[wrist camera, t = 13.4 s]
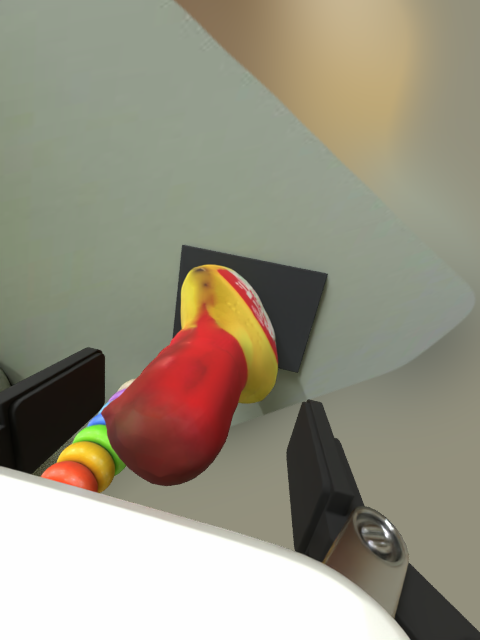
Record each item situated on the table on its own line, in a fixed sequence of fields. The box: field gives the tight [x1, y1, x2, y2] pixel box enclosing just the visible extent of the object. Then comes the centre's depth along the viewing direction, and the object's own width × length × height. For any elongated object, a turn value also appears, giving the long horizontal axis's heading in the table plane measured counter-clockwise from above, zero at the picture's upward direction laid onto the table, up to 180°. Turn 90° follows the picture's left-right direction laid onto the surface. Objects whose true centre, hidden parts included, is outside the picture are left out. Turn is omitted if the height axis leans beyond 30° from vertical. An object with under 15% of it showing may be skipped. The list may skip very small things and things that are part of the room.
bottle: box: [101, 265, 278, 486], centre depth 16 cm, size 12×6×20 cm, turn 21°
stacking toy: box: [41, 379, 135, 493], centre depth 23 cm, size 8×8×19 cm
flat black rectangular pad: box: [173, 245, 328, 373], centre depth 26 cm, size 16×12×1 cm
